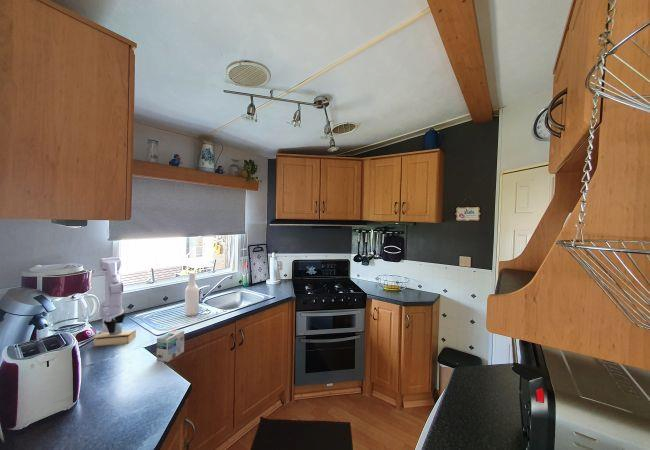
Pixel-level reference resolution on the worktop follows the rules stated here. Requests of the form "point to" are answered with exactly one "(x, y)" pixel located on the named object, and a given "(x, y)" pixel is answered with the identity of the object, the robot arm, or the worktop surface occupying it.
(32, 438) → the worktop surface
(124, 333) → the lid
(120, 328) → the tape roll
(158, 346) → the light bulb box
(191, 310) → the alcohol
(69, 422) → the worktop surface
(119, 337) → the box
